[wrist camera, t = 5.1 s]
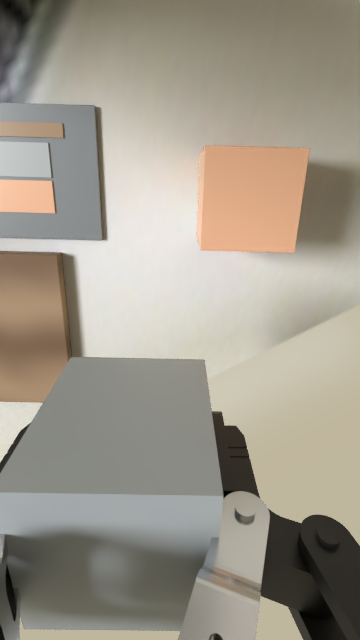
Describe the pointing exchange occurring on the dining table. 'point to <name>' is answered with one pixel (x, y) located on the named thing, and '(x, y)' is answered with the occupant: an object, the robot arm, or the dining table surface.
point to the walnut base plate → (32, 325)
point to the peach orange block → (250, 198)
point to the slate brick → (113, 496)
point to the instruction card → (49, 172)
